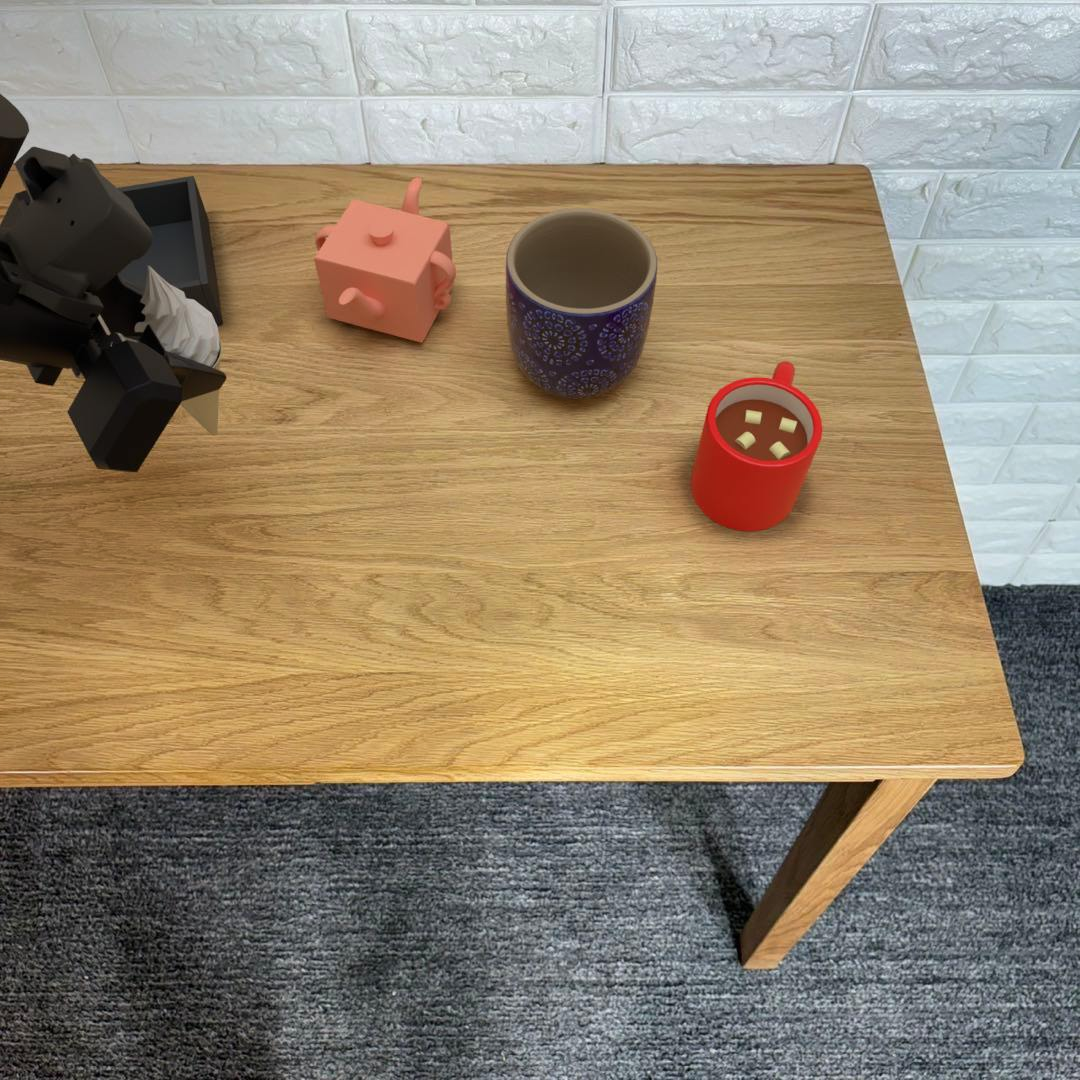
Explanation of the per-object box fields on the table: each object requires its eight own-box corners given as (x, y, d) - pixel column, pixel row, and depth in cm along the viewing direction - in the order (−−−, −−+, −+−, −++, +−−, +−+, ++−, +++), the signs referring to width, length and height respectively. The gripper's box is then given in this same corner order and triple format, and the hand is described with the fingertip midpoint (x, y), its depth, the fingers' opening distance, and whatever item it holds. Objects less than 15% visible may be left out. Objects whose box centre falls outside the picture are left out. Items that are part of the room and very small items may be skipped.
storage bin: (57, 354, 80) (33, 313, 76) (54, 244, 87) (32, 201, 83) (223, 324, 82) (208, 283, 78) (208, 218, 89) (193, 175, 85)
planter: (592, 296, 84) (601, 187, 75) (669, 380, 80) (689, 275, 70) (482, 347, 81) (476, 240, 72) (555, 438, 76) (559, 336, 67)
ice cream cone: (266, 428, 69) (211, 262, 56) (210, 474, 67) (140, 312, 54) (217, 393, 71) (152, 223, 58) (160, 436, 68) (80, 270, 56)
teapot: (288, 351, 81) (265, 274, 74) (364, 231, 88) (350, 150, 81) (424, 389, 79) (414, 313, 72) (490, 262, 86) (487, 182, 79)
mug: (818, 421, 78) (845, 352, 71) (783, 544, 72) (809, 481, 65) (719, 393, 79) (737, 323, 72) (677, 512, 73) (693, 447, 66)
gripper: (75, 275, 43) (341, 350, 56) (-50, 56, 51) (208, 165, 64) (-26, 461, 47) (243, 492, 60) (-126, 232, 56) (129, 302, 68)
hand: (205, 354), depth 63 cm, fingers closed on ice cream cone, 5 cm apart
